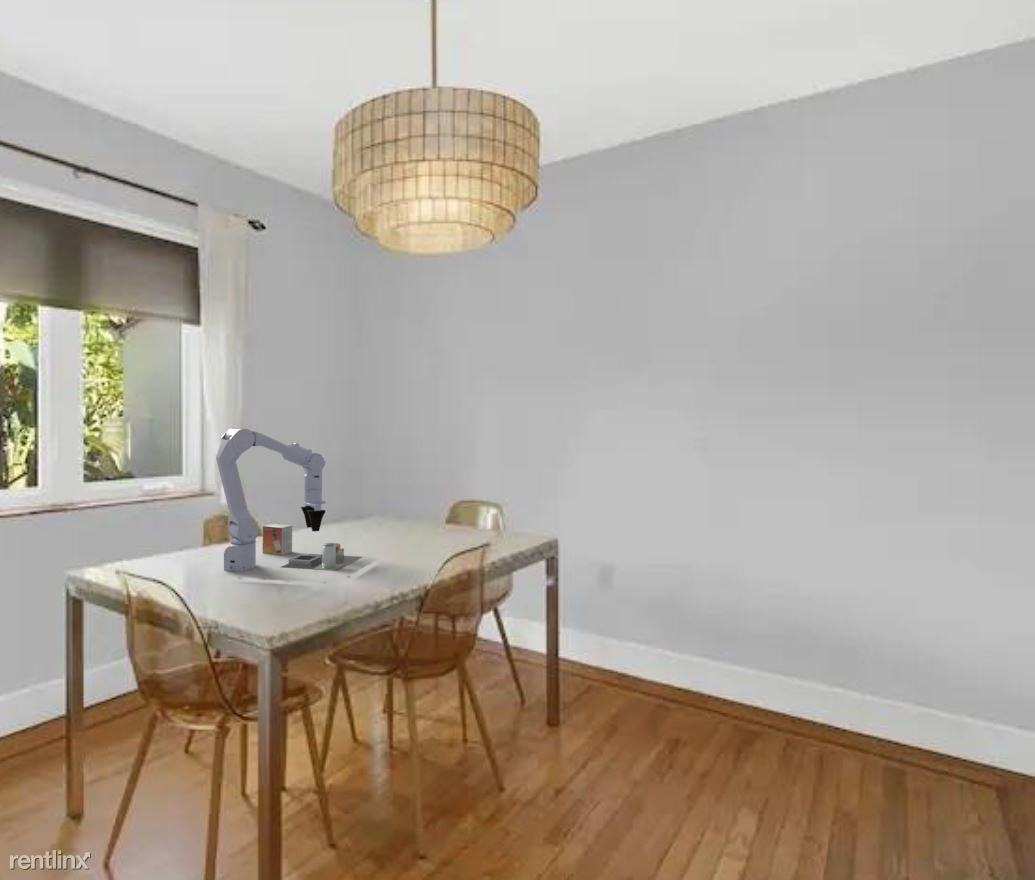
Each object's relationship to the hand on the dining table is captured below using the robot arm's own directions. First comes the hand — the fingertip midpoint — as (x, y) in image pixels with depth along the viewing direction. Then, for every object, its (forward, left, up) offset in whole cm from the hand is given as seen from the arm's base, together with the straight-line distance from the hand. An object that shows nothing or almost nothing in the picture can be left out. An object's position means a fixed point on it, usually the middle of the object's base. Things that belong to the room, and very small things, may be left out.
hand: (313, 529), depth 215 cm
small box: (+2, +14, -10) cm, 18 cm away
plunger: (-3, -9, -8) cm, 13 cm away
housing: (-7, -7, -10) cm, 14 cm away
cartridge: (-13, -12, -9) cm, 20 cm away
